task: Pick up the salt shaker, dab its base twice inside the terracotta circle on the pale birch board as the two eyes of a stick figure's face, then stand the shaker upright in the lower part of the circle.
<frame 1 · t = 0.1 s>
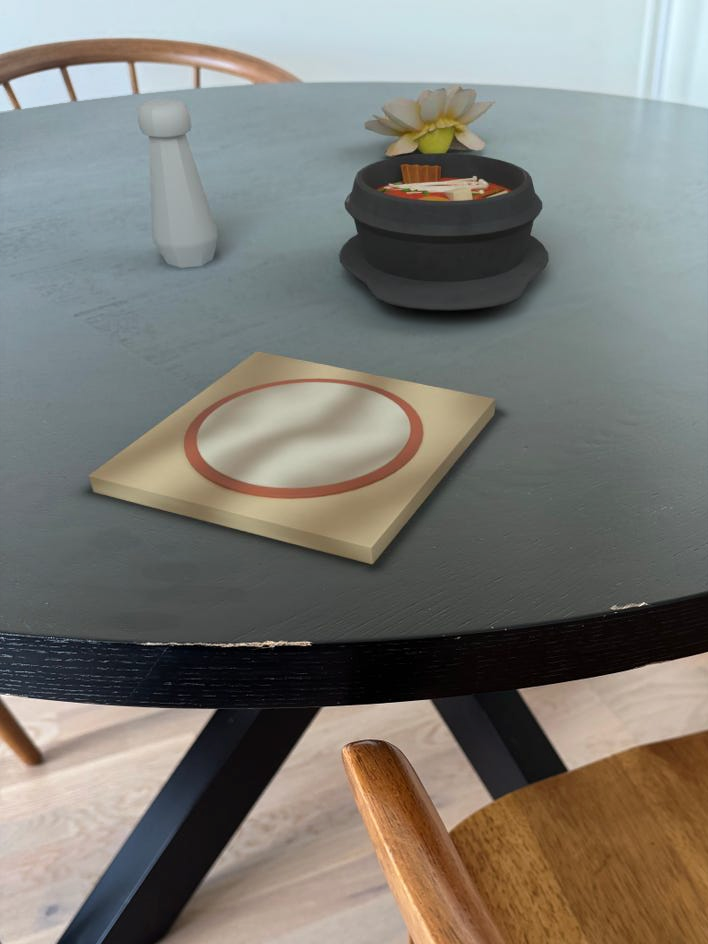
casserole: (444, 277, 86), on the table
decorative flower: (433, 155, 116), on the table
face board: (307, 450, 62), on the table
salt shaker: (190, 261, 88), on the table
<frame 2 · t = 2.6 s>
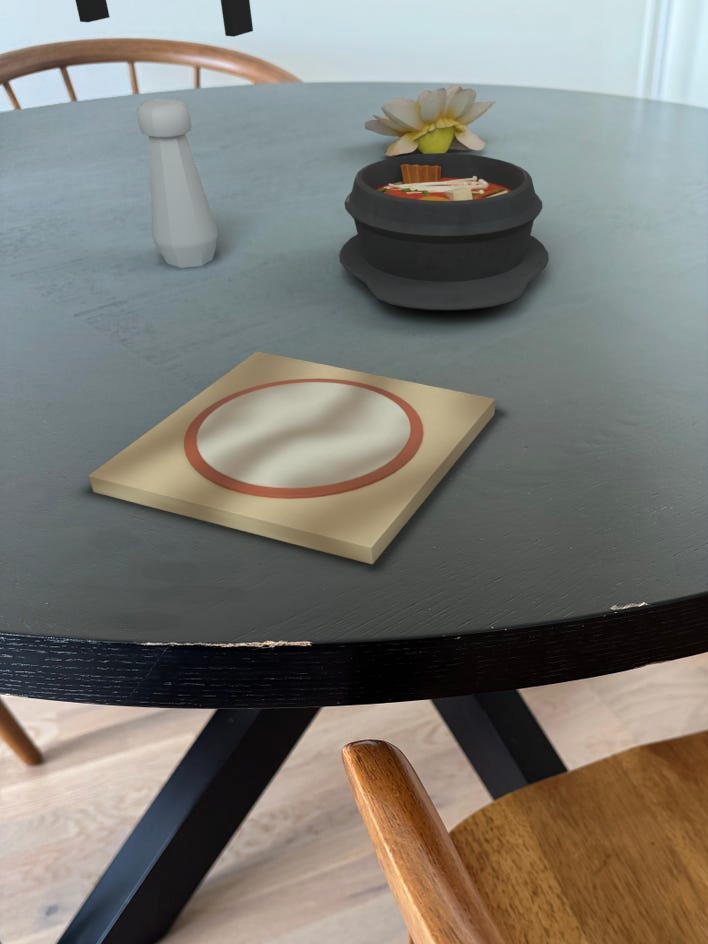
hand: (165, 27, 75), 18 cm above the table, tool pointing down, fingers open, 13 cm apart
nothing on the table moved.
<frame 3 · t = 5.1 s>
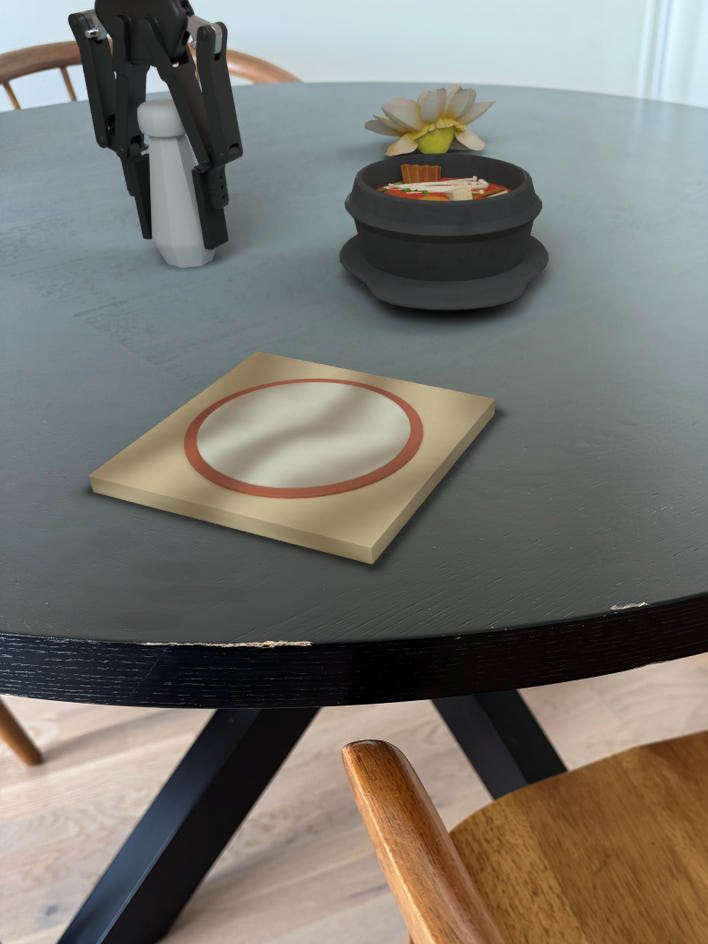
hand: (185, 239, 86), 2 cm above the table, tool pointing down, fingers closed on salt shaker, 6 cm apart
salt shaker: (190, 261, 88), on the table, touching gripper
everything else where it was.
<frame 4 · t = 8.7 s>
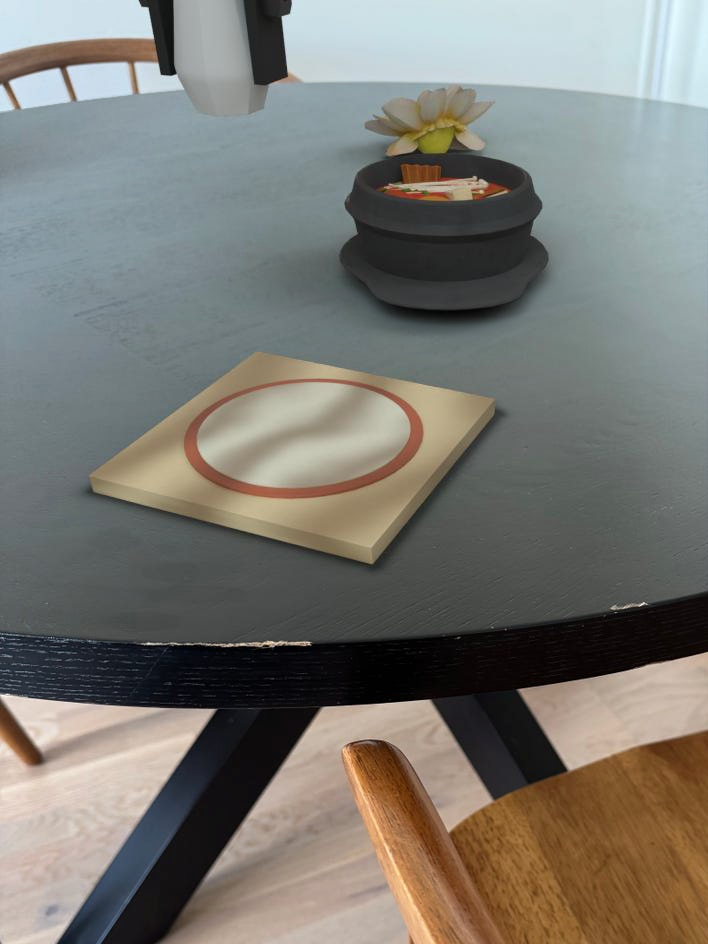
hand: (224, 75, 58), 19 cm above the table, tool pointing down, fingers closed on salt shaker, 6 cm apart
salt shaker: (230, 112, 59), point 17 cm above the table, touching gripper
everything else where it was.
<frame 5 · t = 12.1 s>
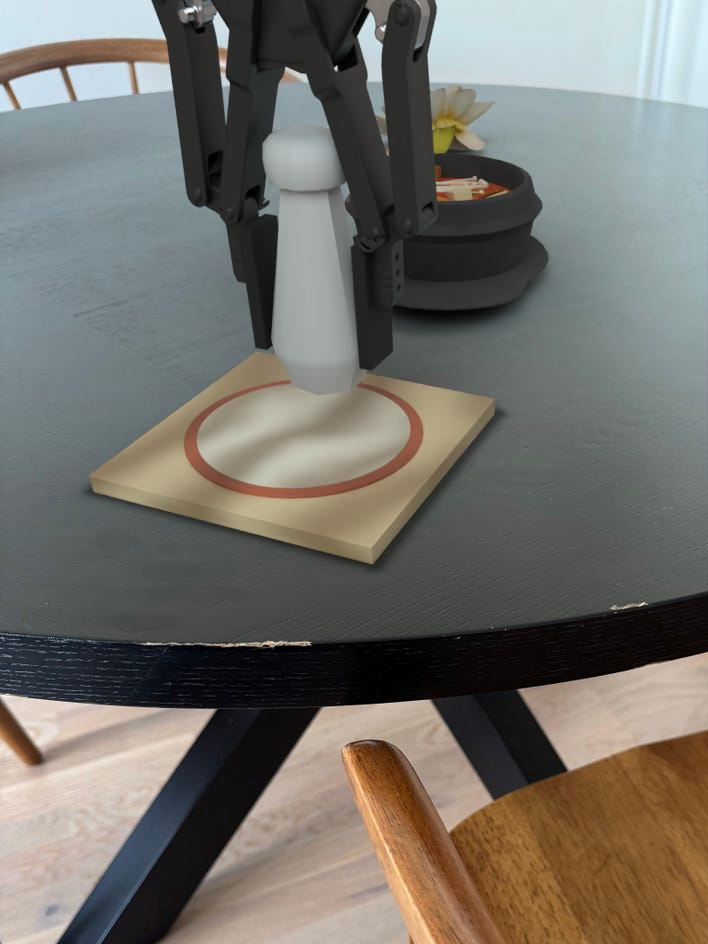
hand: (324, 348, 54), 9 cm above the table, tool pointing down, fingers closed on salt shaker, 6 cm apart
salt shaker: (328, 381, 55), point 7 cm above the table, touching gripper
everything else where it was.
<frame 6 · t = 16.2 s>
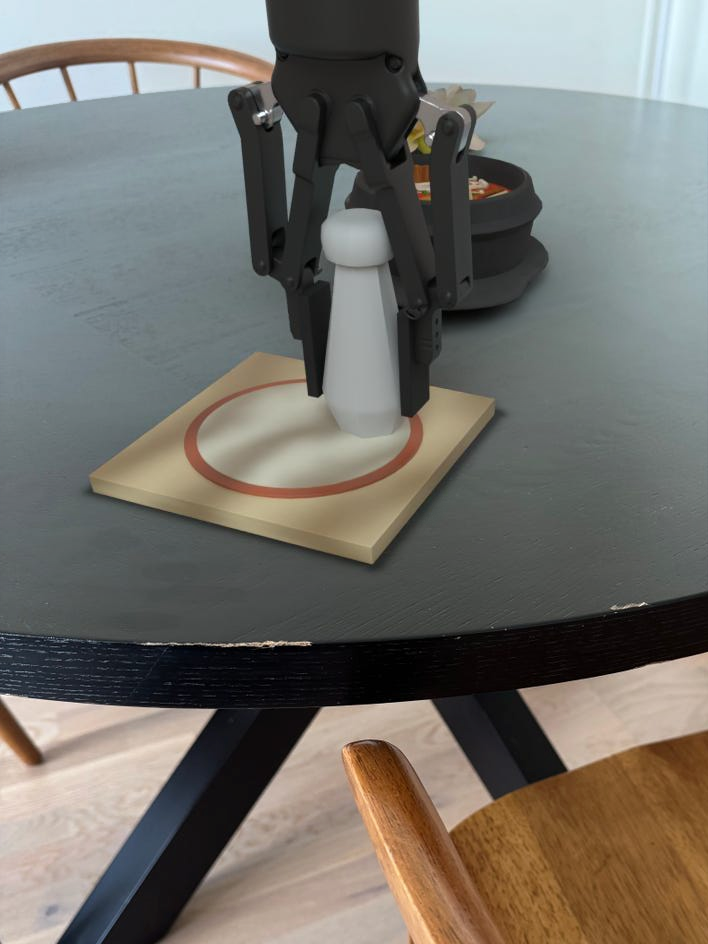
hand: (368, 397, 61), 3 cm above the table, tool pointing down, fingers closed on salt shaker, 6 cm apart
salt shaker: (371, 425, 62), point 1 cm above the table, touching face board, gripper
everything else where it was.
when the fingers open (3 cm above the table, at t = 19.5 s): salt shaker stays where it is, resting on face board.
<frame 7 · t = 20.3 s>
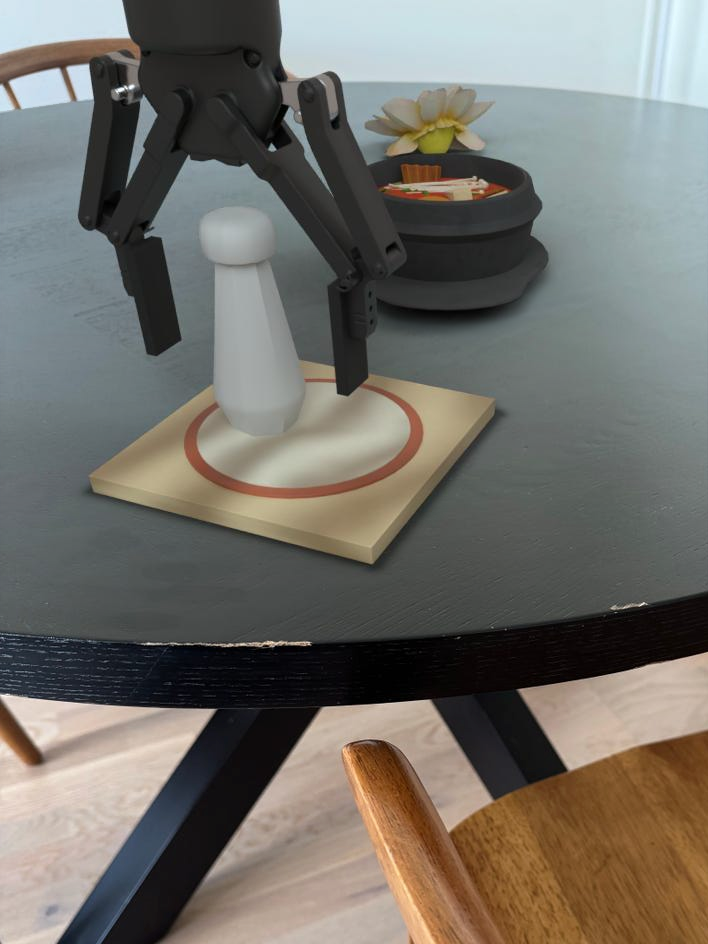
hand: (256, 366, 59), 5 cm above the table, tool pointing down, fingers open, 13 cm apart
salt shaker: (265, 423, 62), point 1 cm above the table, touching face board
everything else where it was.
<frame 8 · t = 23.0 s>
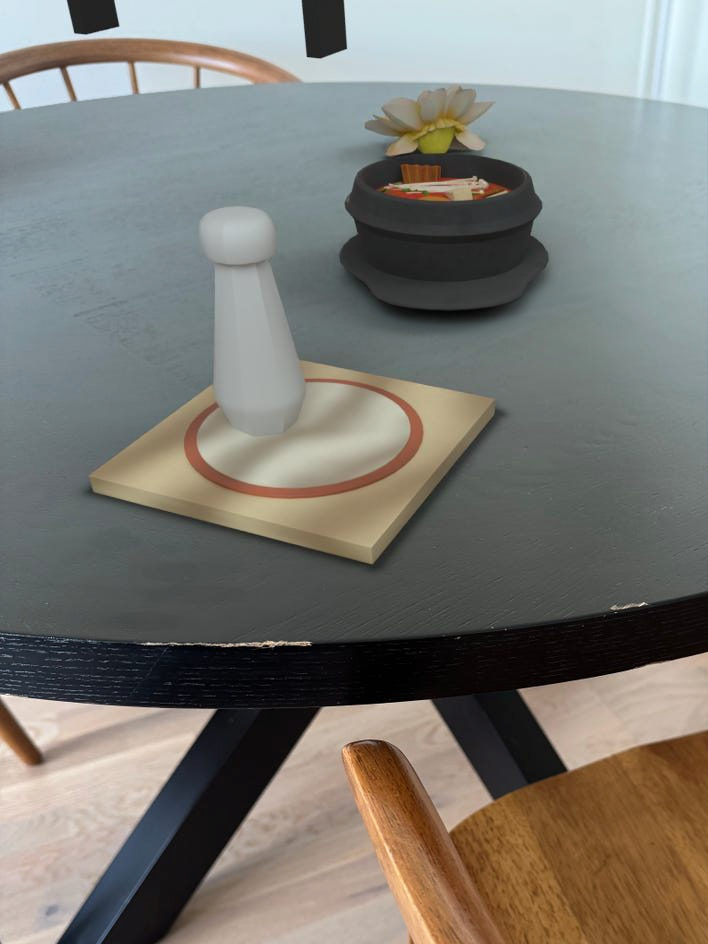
hand: (208, 42, 48), 23 cm above the table, tool pointing down, fingers open, 13 cm apart
nothing on the table moved.
at the end: salt shaker inside the target area on the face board (0.0 cm from its centre), point 1.3 cm above the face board's base; salt shaker tilted 0°; the gripper is holding nothing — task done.
